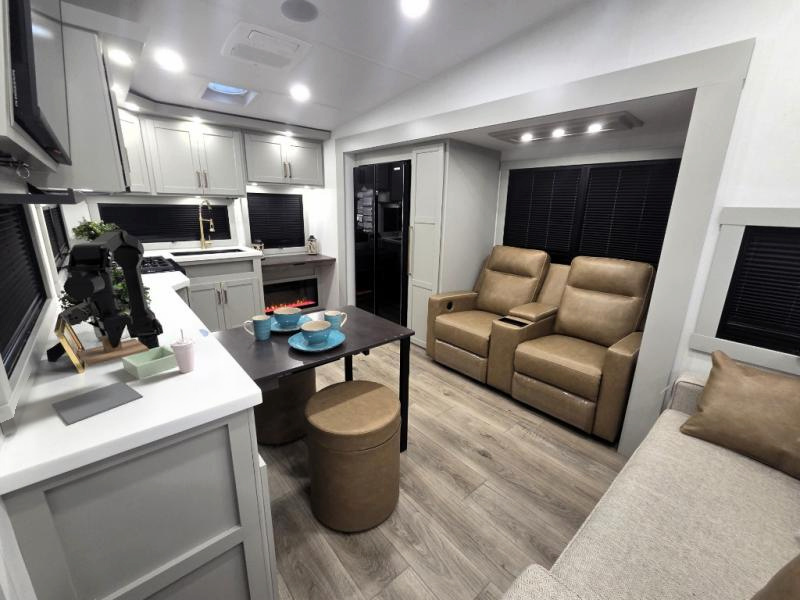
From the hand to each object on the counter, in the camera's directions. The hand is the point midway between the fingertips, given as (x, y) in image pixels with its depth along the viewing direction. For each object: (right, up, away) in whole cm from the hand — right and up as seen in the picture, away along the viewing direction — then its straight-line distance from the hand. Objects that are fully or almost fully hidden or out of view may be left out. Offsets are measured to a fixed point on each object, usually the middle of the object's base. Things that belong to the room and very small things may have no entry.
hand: (112, 346), depth 94 cm
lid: (0, -2, 0) cm, 2 cm away
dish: (0, -9, +16) cm, 18 cm away
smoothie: (+12, -10, +14) cm, 21 cm away
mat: (0, -14, -4) cm, 15 cm away
